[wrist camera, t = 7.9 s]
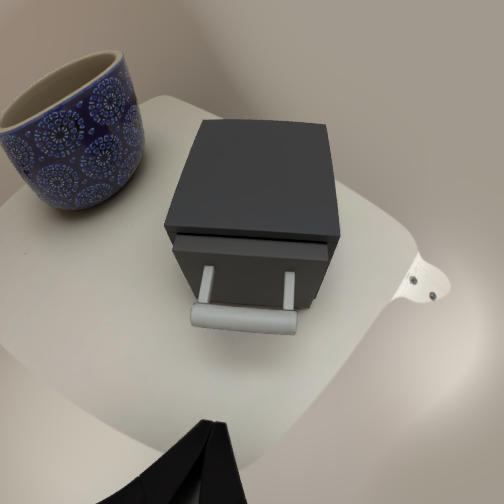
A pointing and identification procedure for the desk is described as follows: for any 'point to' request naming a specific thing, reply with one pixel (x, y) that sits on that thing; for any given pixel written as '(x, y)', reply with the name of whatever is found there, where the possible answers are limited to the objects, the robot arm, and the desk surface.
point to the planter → (76, 131)
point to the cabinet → (258, 183)
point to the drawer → (250, 279)
